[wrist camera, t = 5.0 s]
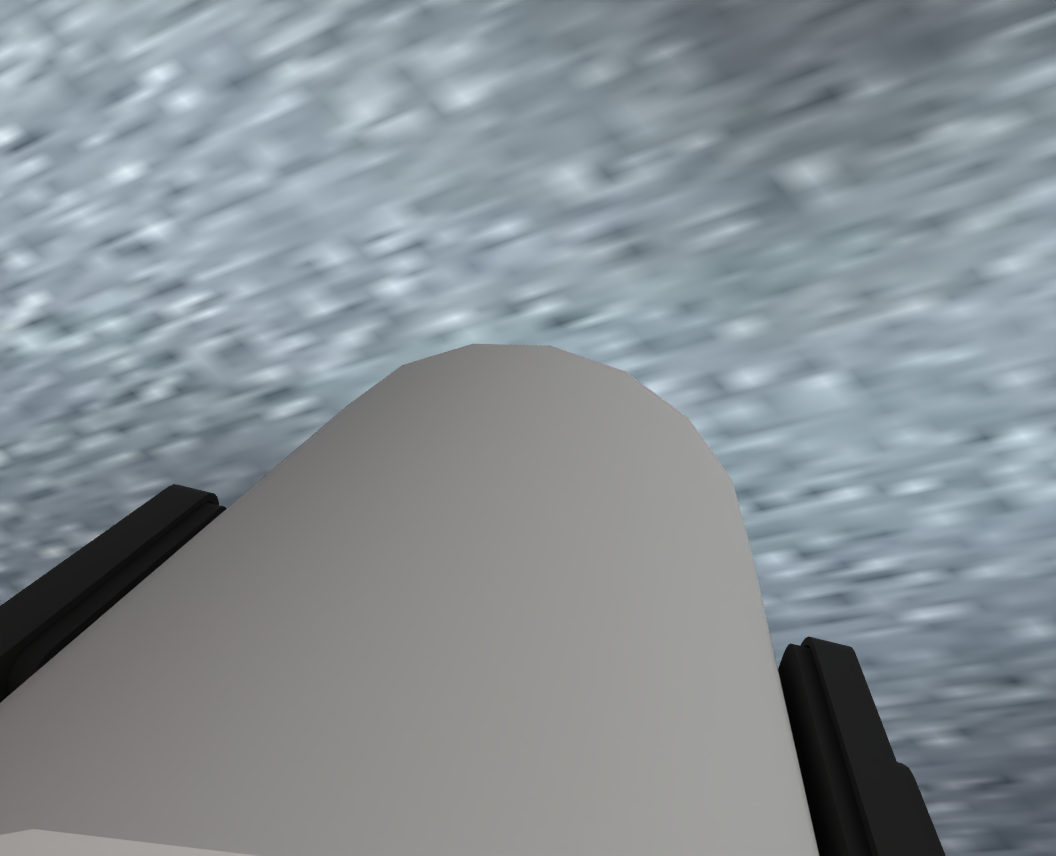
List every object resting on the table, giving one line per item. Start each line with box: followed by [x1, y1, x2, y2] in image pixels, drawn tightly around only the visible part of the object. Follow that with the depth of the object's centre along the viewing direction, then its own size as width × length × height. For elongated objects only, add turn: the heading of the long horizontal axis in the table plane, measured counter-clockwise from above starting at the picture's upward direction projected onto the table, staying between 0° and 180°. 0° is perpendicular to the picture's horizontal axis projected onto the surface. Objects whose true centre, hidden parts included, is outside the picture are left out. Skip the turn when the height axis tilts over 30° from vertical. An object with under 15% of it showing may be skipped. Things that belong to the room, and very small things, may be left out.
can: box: [0, 344, 819, 856], centre depth 9 cm, size 8×8×12 cm
